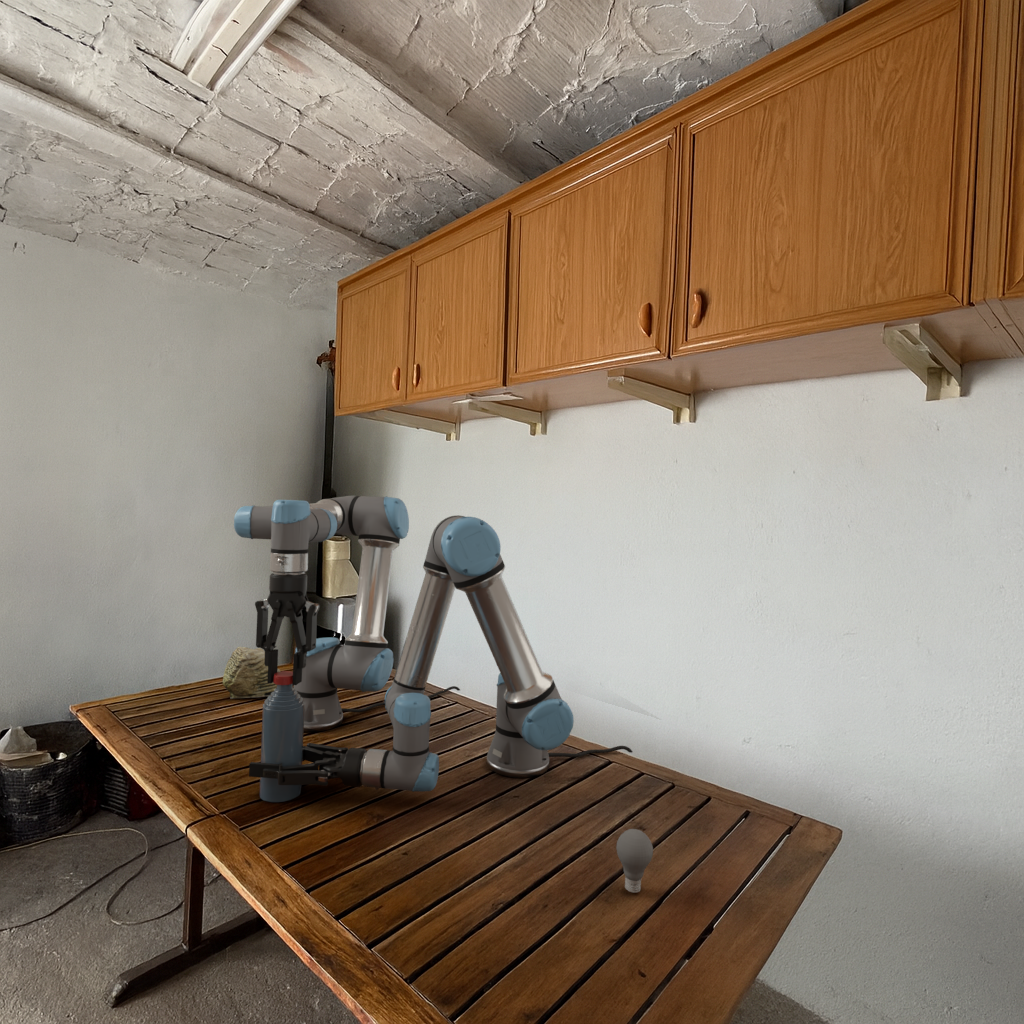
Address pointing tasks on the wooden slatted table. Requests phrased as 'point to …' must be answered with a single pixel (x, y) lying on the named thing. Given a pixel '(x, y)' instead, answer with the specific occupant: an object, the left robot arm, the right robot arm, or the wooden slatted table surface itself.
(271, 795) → the bottle
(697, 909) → the wooden slatted table surface
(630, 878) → the light bulb
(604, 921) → the wooden slatted table surface
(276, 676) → the cap
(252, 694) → the fossil
